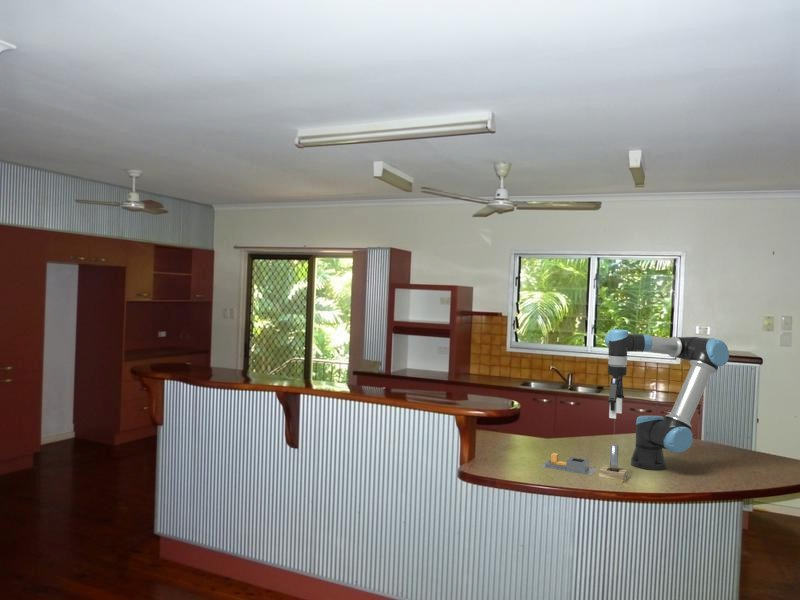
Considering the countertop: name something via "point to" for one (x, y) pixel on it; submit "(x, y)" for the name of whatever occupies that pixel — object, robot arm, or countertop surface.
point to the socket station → (572, 466)
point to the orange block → (556, 460)
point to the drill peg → (613, 457)
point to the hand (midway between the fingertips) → (615, 415)
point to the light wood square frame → (613, 473)
